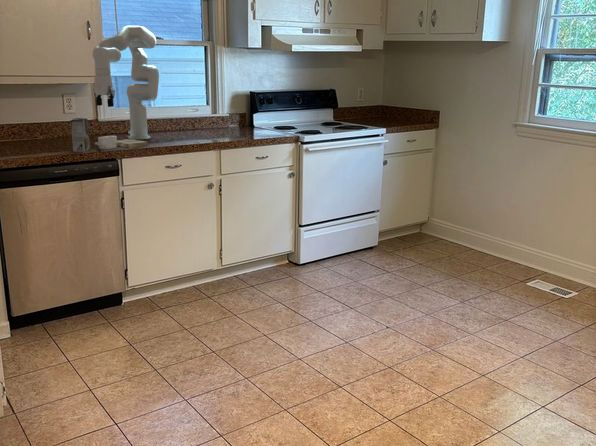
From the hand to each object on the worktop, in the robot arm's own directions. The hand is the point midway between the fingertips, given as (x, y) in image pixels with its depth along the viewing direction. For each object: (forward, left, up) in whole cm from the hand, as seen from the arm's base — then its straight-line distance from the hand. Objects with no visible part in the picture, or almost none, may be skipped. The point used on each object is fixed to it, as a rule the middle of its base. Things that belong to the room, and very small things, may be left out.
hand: (105, 106), depth 315 cm
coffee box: (-3, -14, -22) cm, 26 cm away
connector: (0, 0, -22) cm, 22 cm away
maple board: (0, +14, -22) cm, 26 cm away
